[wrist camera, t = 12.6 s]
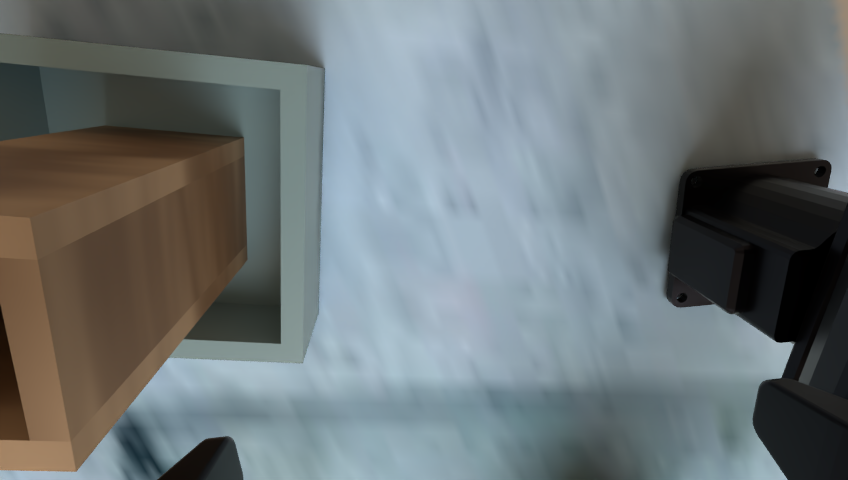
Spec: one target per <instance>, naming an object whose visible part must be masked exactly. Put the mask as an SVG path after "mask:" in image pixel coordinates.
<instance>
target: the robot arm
mask: <svg viewBox="0 0 848 480" xmlns="http://www.w3.org/2000/svg"><path fill="white" fill-rule="evenodd" d="M817 167H818V170H817V172H816V173H815V174H814V172H815V170H816V168H817ZM830 174H831V164H830V163H829V162H828V161H826V160H821V159H803V160H791V161H779V162H767V163H755V164H743V165H731V166H719V167H707V168H695V169H690V170H687V171H686V172H684V174H683V175H682V176H681V179H680V184H679V193H678V202H677V210H676V218H675V220H674V221H673V228H672V237H671V246H670V255H669V264H668V271H669V281H668V289H667V299H668V301H669V302H670V303H672V304H673V305H674V306H676V307H691V306H701V305H712V304H715V305H717V306H718V307H720V308H721V309H723V310H724V311H725V312H727V313H729V314H736V315H737V316H739V317H740V318H742V319H743V320H745V321H746V322H748V323H749V324H751V325H752V326H754V327H755V328H757V329H758V330H760V331H761V332H763V333H764V334H766V335H767V336H769V337H770V338H771V339H773V340H774V341H776V342H780V343H783V342H791V343H793V344H794V346H793V349H792V351H791V354H790V357H789V359H788V362H787V365H786V367H785V370H784V373H783V375H782V378H780V379H771V380H765V381H763V382H762V383H761V384H760V386H759V389H758V394H757V399H756V404H755V408H754V413H753V426H754V429H755V431H756V433H757V435H758V437H759V438H760V440H761V441H762V442H763V444H764V445H765V447H766V448H767V450H768V451H769V453H770V454H771V456H772V457H773V459H774V460H775V462H776V463H777V465H778V466H779V467H780V469H781V470H782V472H783V473H784V475H785V476H786V478H787V479H788V480H848V193H846V192H842V191H838V190H834V189H830V188H828V183H829V179H830ZM694 177H696V178H697V180H696V183H695V184H694V185H692V186H691V181H692V179H693V178H694ZM681 293H682V296H681V297H680V298H678V299H677V296H678V295H679V294H681ZM157 480H243V472H242V469H241V465H240V461H239V457H238V453H237V449H236V445H235V442H234V440H233V439H232V438H231V437H229V436H225V437H216V438H208V439H205V440H204V441H202V442H201V443H200V444H199V445H197V446H196V447H195V448H194V449H193V450H192V451H190V452H189V453H188V454H187V455H186V456H184V457H183V458H182V459H181V460H180V461H179V462H177V463H176V464H175V465H174V466H173V467H171V468H170V469H169V470H168V471H167V472H166V473H164V474H163V475H162V476H161V477H160V478H159V479H157Z"/></svg>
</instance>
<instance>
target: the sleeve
mask: <svg viewBox="0 0 848 480" xmlns="http://www.w3.org/2000/svg"><path fill="white" fill-rule="evenodd" d="M247 260H248V258H247V222H246V186H245V151H244V137H233V136H222V135H210V134H199V133H187V132H176V131H164V130H152V129H141V128H129V127H118V126H106V125H104V126H97V127H91V128H84V129H77V130H71V131H64V132H57V133H51V134H44V135H38V136H31V137H24V138H18V139H11V140H4V141H0V470H21V471H70V472H76V471H77V470H78V469H79V468H80V466H81V465H82V464H83V463H84V461H85V460H86V459H87V458H88V456H89V455H90V454H91V453H92V452H93V450H94V449H95V448H96V447H97V445H98V444H99V443H100V442H101V440H102V439H103V438H104V437H105V435H106V434H107V433H108V432H109V430H110V429H111V428H112V427H113V426H114V424H115V423H116V422H117V421H118V419H119V418H120V417H121V416H122V414H123V413H124V412H125V411H126V409H127V408H128V407H129V406H130V405H131V403H132V402H133V401H134V400H135V398H136V397H137V396H138V395H139V393H140V392H141V391H142V390H143V388H144V387H145V386H146V385H147V384H148V382H149V381H150V380H151V379H152V377H153V376H154V375H155V374H156V372H157V371H158V370H159V369H160V367H161V366H162V365H163V364H164V363H165V361H166V360H167V359H168V358H169V356H170V355H171V354H172V353H173V351H174V350H175V349H176V348H177V346H178V345H179V344H180V343H181V342H182V340H183V339H184V338H185V337H186V335H187V334H188V333H189V332H190V330H191V329H192V328H193V327H194V325H195V324H196V323H197V322H198V321H199V319H200V318H201V317H202V316H203V314H204V313H205V312H206V311H207V309H208V308H209V307H210V306H211V304H212V303H213V302H214V301H215V300H216V298H217V297H218V296H219V295H220V293H221V292H222V291H223V290H224V288H225V287H226V286H227V285H228V283H229V282H230V281H231V280H232V279H233V277H234V276H235V275H236V274H237V272H238V271H239V270H240V269H241V267H242V266H243V265H244V264H245V262H246V261H247Z"/></svg>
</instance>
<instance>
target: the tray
mask: <svg viewBox="0 0 848 480" xmlns="http://www.w3.org/2000/svg"><path fill="white" fill-rule="evenodd" d="M324 84H325V69H324V68H319V67H314V66H309V65H302V64H292V63H283V62H273V61H263V60H254V59H244V58H234V57H225V56H215V55H205V54H196V53H186V52H176V51H166V50H157V49H147V48H137V47H128V46H118V45H108V44H99V43H89V42H79V41H70V40H60V39H50V38H41V37H31V36H21V35H12V34H2V33H0V141H4V140H11V139H18V138H24V137H31V136H38V135H44V134H51V133H57V132H64V131H71V130H77V129H84V128H91V127H97V126H104V125H106V126H118V127H129V128H141V129H152V130H164V131H176V132H187V133H199V134H210V135H222V136H233V137H244V151H245V186H246V222H247V258H248V260H247V261H246V262H245V264H244V265H243V266H242V267H241V269H240V270H239V271H238V272H237V274H236V275H235V276H234V277H233V279H232V280H231V281H230V282H229V283H228V285H227V286H226V287H225V288H224V290H223V291H222V292H221V293H220V295H219V296H218V297H217V298H216V300H215V301H214V302H213V303H212V304H211V306H210V307H209V308H208V309H207V311H206V312H205V313H204V314H203V316H202V317H201V318H200V319H199V321H198V322H197V323H196V324H195V325H194V327H193V328H192V329H191V330H190V332H189V333H188V334H187V335H186V337H185V338H184V339H183V340H182V342H181V343H180V344H179V345H178V346H177V348H176V349H175V350H174V351H173V353H172V354H171V355H170V356H169V358H189V359H212V360H235V361H258V362H281V363H303V361H304V358H305V354H306V351H307V348H308V345H309V342H310V339H311V335H312V332H313V329H314V326H315V323H316V320H317V316H318V311H319V274H320V236H321V198H322V160H323V122H324Z"/></svg>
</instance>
